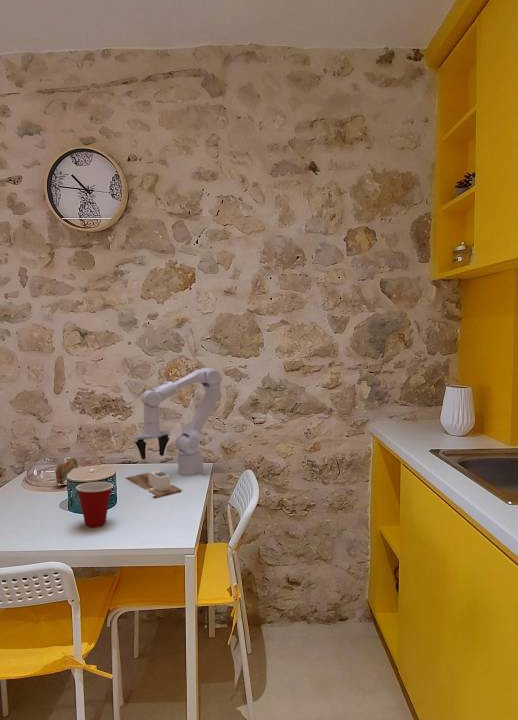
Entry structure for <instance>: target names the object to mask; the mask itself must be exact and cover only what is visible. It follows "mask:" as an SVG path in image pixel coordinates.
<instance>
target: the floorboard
mask: <svg viewBox="0 0 518 720" xmlns="http://www.w3.org/2000/svg"><path fill="white" fill-rule="evenodd" d="M125 479H126V480H127V481H129V482H131V483H133V484H135V485H136V486H138V487H140V488H141V489H143V490H145V491H147V492H148V493H150V494H152V495H154V496H152V497H153V498H154V499H160V498H163V497H168V496H172V495H175V494H179V493H182V489H181V488H179V487H177V486H176V485H174V484H172V483H170V489H169V490H164V491H158V490H156V489H155V488H153V487H151V486H149V481H148V472H147V473H141V474H137V475H132V476H127V477H125Z"/></svg>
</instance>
